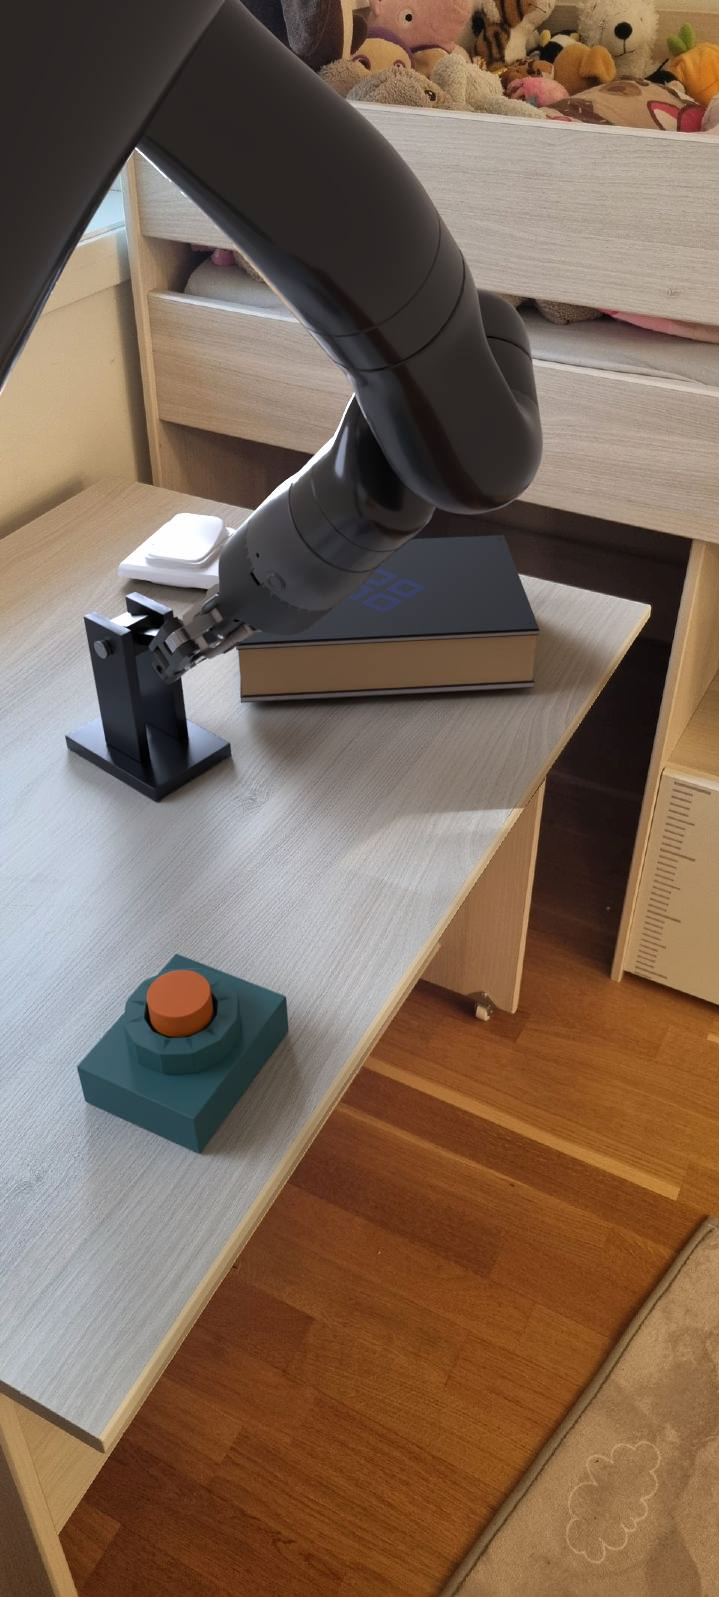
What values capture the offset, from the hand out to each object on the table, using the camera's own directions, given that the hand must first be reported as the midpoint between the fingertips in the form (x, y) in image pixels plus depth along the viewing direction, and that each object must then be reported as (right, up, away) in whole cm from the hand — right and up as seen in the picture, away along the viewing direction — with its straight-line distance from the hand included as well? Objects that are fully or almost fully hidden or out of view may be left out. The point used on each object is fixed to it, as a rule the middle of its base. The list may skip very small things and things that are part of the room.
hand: (191, 655), depth 86 cm
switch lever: (-2, 0, +2) cm, 3 cm away
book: (+14, +3, +23) cm, 27 cm away
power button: (+2, -23, -17) cm, 29 cm away
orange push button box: (+2, -26, -14) cm, 30 cm away
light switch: (-5, +14, +37) cm, 40 cm away
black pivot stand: (-5, -7, +11) cm, 14 cm away
